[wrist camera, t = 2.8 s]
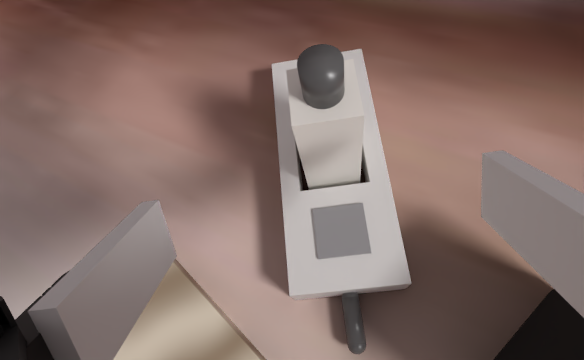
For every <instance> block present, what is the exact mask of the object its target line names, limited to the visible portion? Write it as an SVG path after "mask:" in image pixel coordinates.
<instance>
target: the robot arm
mask: <svg viewBox="0 0 584 360" xmlns="http://www.w3.org/2000/svg"><path fill="white" fill-rule="evenodd" d="M481 217H482V218H483V219H484V220H485V221H486V222H487V223H488V224H489V225H490V226H491V227H492V228H493V229H494V230H495V231H496V232H497V233H498V234H499V235H500V236H501V237H502V238H503V239H504V240H505V241H506V242H507V243H508V244H509V245H510V246H511V247H512V248H513V249H514V250H515V251H516V252H517V253H518V254H519V255H520V256H521V257H523V258H524V259H525V260H526V261H527V262H528V263H529V264H530V265H531V266H532V267H533V268H534V269H535V270H536V271H537V272H538V273H539V274H540V275H541V276H542V277H543V278H544V279H545V280H546V281H547V282H548V283H549V284H550V285H551V286H552V287H553V288H554V289H555V290H556V291H557V292H558V293H559V294H560V295H561V296H562V297H563V298H564V299H565V300H566V301H567V302H568V303H569V304H570V305H571V306H572V307H573V308H574V309H575V310H576V311H577V312H578V313H579V314H580V315H581V316H582V317H583V318H584V194H583V193H581V192H579V191H578V190H576V189H574V188H572V187H570V186H568V185H566V184H565V183H563V182H561V181H559V180H557V179H555V178H553V177H552V176H550V175H548V174H546V173H544V172H542V171H540V170H539V169H537V168H535V167H533V166H531V165H529V164H527V163H526V162H524V161H522V160H520V159H518V158H516V157H514V156H513V155H511V154H509V153H507V152H505V151H503V150H502V151H495V152H488V153H482V200H481ZM176 256H177V255H176V252H175V248H174V245H173V242H172V239H171V236H170V233H169V230H168V227H167V224H166V220H165V217H164V214H163V211H162V208H161V205H160V202H159V200H153V201H146V202H141V203H140V204H139V205H138V206H137V207H136V208H135V209H134V210H133V211H132V212H131V213H130V214H129V215H128V216H127V217H126V218H125V219H123V220H122V221H121V222H120V223H119V224H118V225H117V226H116V227H115V228H114V229H113V230H112V231H111V232H110V233H109V234H108V235H107V236H106V237H105V238H104V239H103V240H102V241H100V242H99V243H98V244H97V245H96V246H95V247H94V248H93V249H92V250H91V251H90V252H89V253H88V254H87V255H86V256H85V257H84V258H83V259H82V260H81V261H80V262H79V263H77V264H76V265H75V266H74V267H73V268H72V269H71V270H70V271H68V272H67V273H65V274H64V275H62V276H61V277H60V278H59V279H58V280H57V281H56V282H55V283H54V284H53V285H52V287H51V288H48V289H47V290H46V291H45V292H44V293H43V294H42V296H40V297H39V298H38V299H37V300H36V301H35V302H34V303H32V304H31V305H30V306H29V307H28V308H27V309H26V310H25V311H24V312H23V313H22V314H21V315H20V316H19V317H18V318H17V319H16V320H15V319H14V317H13V316H12V314H11V312H10V310H9V308H8V306H7V304H6V303H5V301H4V299H3V298H2V296H0V360H113V359H114V357H115V356H116V354H117V353H118V351H119V349H120V348H121V346H122V344H123V343H124V341H125V340H126V338H127V336H128V335H129V333H130V331H131V330H132V328H133V326H134V325H135V323H136V322H137V320H138V318H139V317H140V315H141V313H142V312H143V310H144V309H145V307H146V305H147V304H148V302H149V300H150V299H151V297H152V295H153V294H154V292H155V291H156V289H157V287H158V286H159V284H160V282H161V281H162V279H163V278H164V276H165V274H166V273H167V271H168V269H169V268H170V266H171V264H172V263H173V261H174V260H175V258H176Z"/></svg>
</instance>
